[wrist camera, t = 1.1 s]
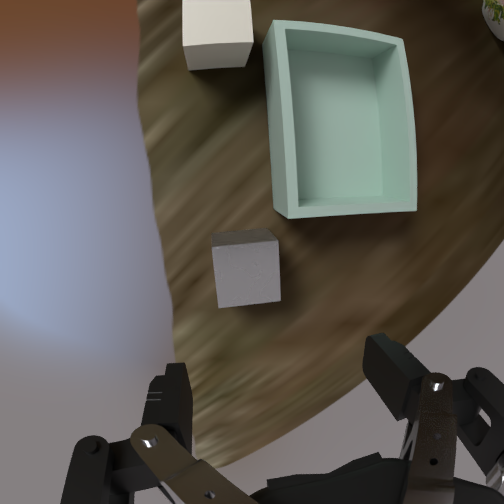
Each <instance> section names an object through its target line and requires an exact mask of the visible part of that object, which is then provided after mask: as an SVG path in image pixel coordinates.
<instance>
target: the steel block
mask: <svg viewBox="0 0 504 504" xmlns="http://www.w3.org/2000/svg"><path fill="white" fill-rule="evenodd" d="M212 254H213V263H214V272H215V281H216V290H217V298H218V306H219V308H223V307H233V306H242V305H251V304H259V303H267V302H275V301H281V294H280V267H279V244H278V240H277V239H276V237H275V236H274V235H273V234H272V233H271V232H270V231H269V230H268V229H267V228H260V229H249V230H239V231H228V232H218V233H212Z"/></svg>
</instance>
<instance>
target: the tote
mask: <svg viewBox="0 0 504 504" xmlns="http://www.w3.org/2000/svg"><path fill="white" fill-rule="evenodd" d="M262 51H263V63H264V75H265V87H266V100H267V113H268V127H269V142H270V157H271V173H272V189H273V207H274V209H275V210H276V211H277V212H279V213H280V214H282V215H283V216H285V217H286V218H288V219H294V218H307V217H321V216H335V215H350V214H366V213H383V212H402V211H417V155H416V136H415V122H414V111H413V102H412V93H411V85H410V78H409V72H408V65H407V59H406V54H405V48H404V43H403V39H400V38H396V37H392V36H388V35H384V34H380V33H375V32H370V31H365V30H360V29H354V28H348V27H342V26H335V25H328V24H320V23H311V22H300V21H285V20H273V22H272V24H271V26H270V28H269V31H268V33H267V35H266V37H265V39H264V42H263V44H262Z"/></svg>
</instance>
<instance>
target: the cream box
mask: <svg viewBox="0 0 504 504" xmlns="http://www.w3.org/2000/svg"><path fill="white" fill-rule="evenodd" d="M253 43H254V40H253V28H252V17H251V5H250V0H183V49H184V53H185V57H186V62H187V66H188V70H189V71H190V70H200V69H212V68H228V67H245V65H246V62H247V59H248V57H249V54H250V51H251V48H252V45H253Z"/></svg>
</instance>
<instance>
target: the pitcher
mask: <svg viewBox="0 0 504 504" xmlns="http://www.w3.org/2000/svg"><path fill="white" fill-rule="evenodd" d="M482 12H483V16H484V19H485V21H486V23H487V25H488V26H489V28H490V29H491V31H492V32H493V33H494V35H495V36H496V37H497V38H499V39H500V40H501V41H504V0H484V2H483V6H482Z"/></svg>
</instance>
